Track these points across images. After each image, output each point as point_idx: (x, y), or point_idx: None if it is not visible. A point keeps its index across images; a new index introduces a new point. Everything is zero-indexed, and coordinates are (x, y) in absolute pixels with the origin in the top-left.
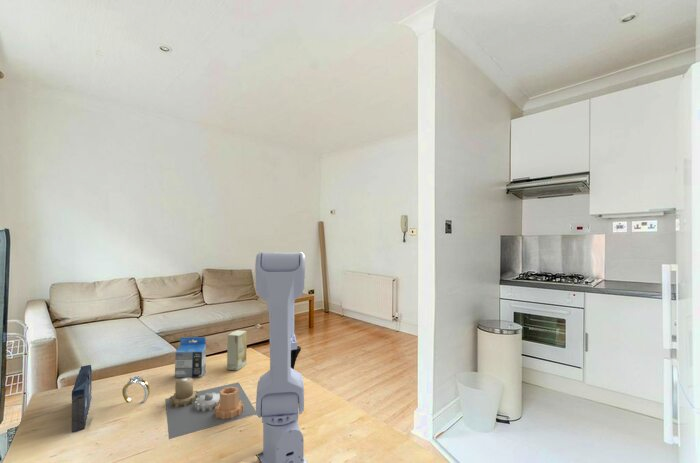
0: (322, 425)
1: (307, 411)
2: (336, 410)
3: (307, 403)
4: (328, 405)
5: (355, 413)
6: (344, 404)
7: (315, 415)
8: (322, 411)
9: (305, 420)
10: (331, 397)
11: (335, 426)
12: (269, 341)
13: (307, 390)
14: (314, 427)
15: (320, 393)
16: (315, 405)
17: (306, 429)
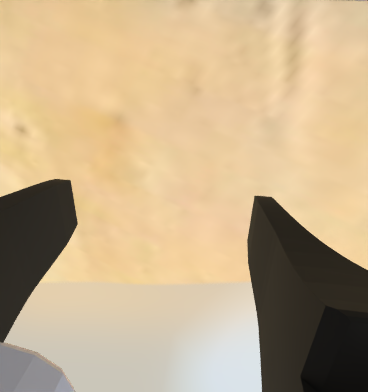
0: (18, 183)
1: (110, 184)
2: (78, 250)
3: (158, 208)
4: (114, 248)
5: (45, 275)
6: (98, 280)
7: (76, 193)
8: (89, 219)
9: (61, 155)
10: (153, 276)
11: None
12: (354, 312)
13: (241, 248)
14: (15, 159)
15: (195, 267)
16: (132, 220)
17: (11, 134)
